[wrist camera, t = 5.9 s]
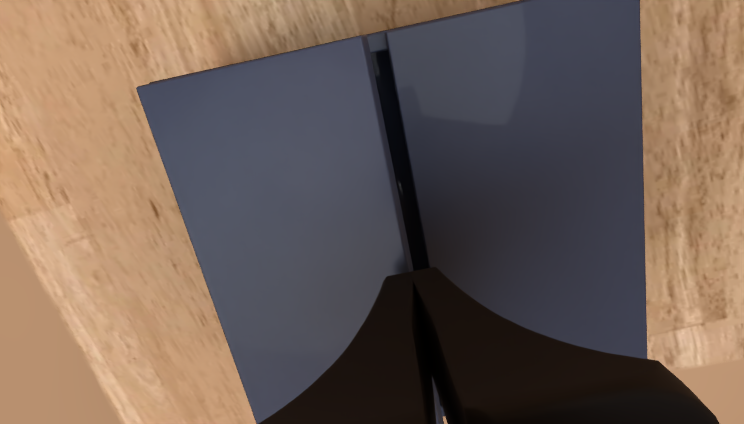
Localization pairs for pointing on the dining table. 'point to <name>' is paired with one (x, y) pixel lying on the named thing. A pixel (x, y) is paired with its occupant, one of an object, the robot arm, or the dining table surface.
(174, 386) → the dining table surface
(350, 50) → the flap
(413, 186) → the carton
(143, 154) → the dining table surface
